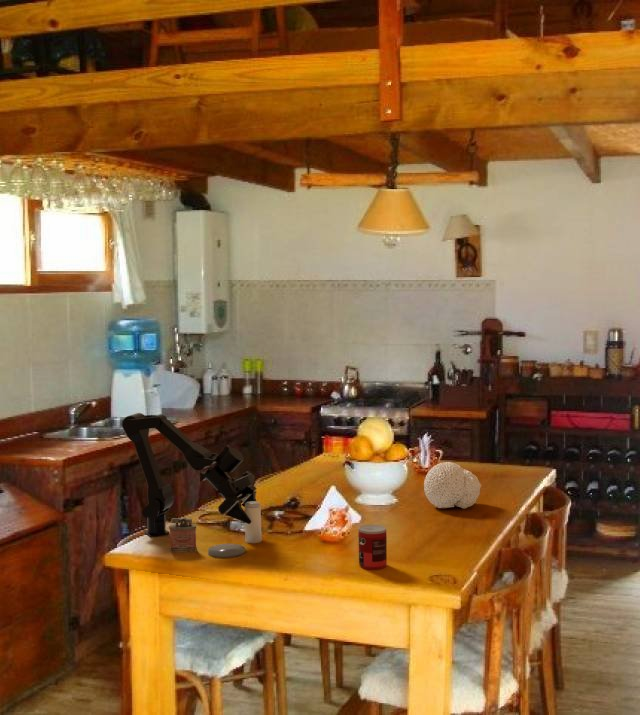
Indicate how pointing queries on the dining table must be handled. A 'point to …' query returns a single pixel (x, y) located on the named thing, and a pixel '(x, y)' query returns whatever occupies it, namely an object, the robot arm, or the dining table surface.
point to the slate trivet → (226, 550)
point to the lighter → (182, 535)
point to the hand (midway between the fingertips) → (256, 519)
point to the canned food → (372, 547)
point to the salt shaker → (253, 522)
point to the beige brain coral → (451, 486)
